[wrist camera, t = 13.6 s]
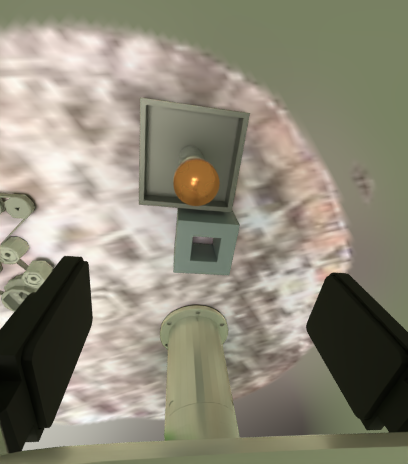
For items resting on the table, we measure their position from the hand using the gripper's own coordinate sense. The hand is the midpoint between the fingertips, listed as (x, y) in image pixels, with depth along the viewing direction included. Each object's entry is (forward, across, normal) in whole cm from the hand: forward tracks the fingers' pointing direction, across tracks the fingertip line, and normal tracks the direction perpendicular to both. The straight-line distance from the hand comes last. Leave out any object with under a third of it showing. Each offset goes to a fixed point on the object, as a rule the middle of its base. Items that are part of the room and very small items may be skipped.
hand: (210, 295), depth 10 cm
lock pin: (+26, 0, -1) cm, 26 cm away
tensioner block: (+26, -3, +10) cm, 29 cm away
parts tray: (+26, 0, -1) cm, 26 cm away
